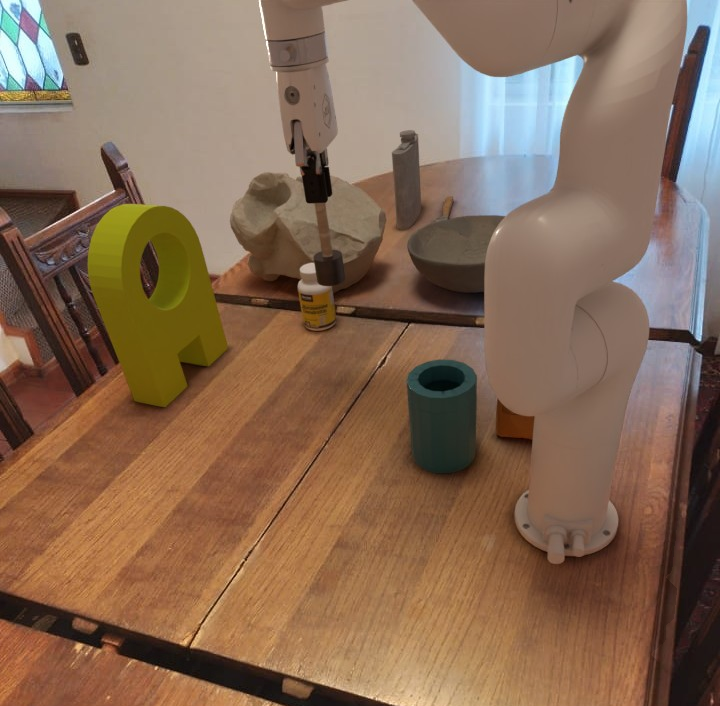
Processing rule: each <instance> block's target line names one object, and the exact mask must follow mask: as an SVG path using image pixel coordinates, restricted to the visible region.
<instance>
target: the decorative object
mask: <svg viewBox="0 0 720 706" xmlns="http://www.w3.org/2000/svg"><path fill="white" fill-rule="evenodd" d="M149 242H151V244H152V246H153V248H154V251H155V254H156V256H157V263H158V278H157V283H156V285H155V288H154V290H153V293H152V294H151V296H150V297H149V298H148V297H147V294H146V293H145V290H144V288H143V283H142V279H141V263H142V257H143V253H144V251H145V248H146V247H147V245H148V244H149ZM88 246H89V247H88V252H87V276H88V282H89V287H90V289H91V293H92V296H93V299H94V300H95V304H96V307H97V309H98V312H99V314H100V318H101V319H102V321H103V324H104V327H105V329H106V331H107V334H108V337H109V340H110V342H111V344H112V347H113V350H114V352H115V354H116V357H117V360H118V362H119V366H120V367H121V370H122V373H123V376H124V378H125V381H126V383H127V385H128V388H129V391H130V393H131V396H132V398H133V401H134V402H135V403H141V404H146V405H150V406H156V407H161V408H166V407H167V406H168V405H170V404H171V403H172V402H173V401H174V400H175V399H176V398H177V397H178V396H179V395H180V394H181V393H183V391H185V390H186V389H187V388H188V383H187V379H186V376H185V374H184V370H183V367H182V364H181V363H186V364H191V365H197V366H204V367H210V366H211V365H212V364H213V363H214V362H216V360H218V359H219V358H220V357H221V356H222V355H223V354H224V353H225V352H226V351H227V350H229V346H228V342H227V338H226V335H225V330H224V326H223V322H222V319H221V318H222V317H221V315H220V311H219V307H218V304H217V301H216V296H215V292H214V288H213V285H212V281H211V277H210V273H209V269H208V266H207V262H206V259H205V255H204V251H203V248H202V244H201V241H200V238H199V236H198V234H197V231H196V229H195V228H194V225H192V223H191V221H190V220H189V219H188V218H187V217H186V215H184V214H183V213H182V212H181V211H179V210H177V209H175V208H173V207H171V206H167V205H157V204H156V205H155V204H143V203H142V204H140V203H123V204H119V205H117V206H115V207H113V208H111V209H109V210H108V211H107V212H106V213H105V214H104V215H103V216H102V217H101V219H100V220H99V222H97V224H96V226H95V229H94V231H93V233H92V235H91V239H90V241H89V245H88Z"/></svg>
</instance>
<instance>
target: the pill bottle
mask: <svg viewBox="0 0 720 706" xmlns="http://www.w3.org/2000/svg"><path fill="white" fill-rule="evenodd" d="M300 276H301V278H302V279H301V280H300V279H299V281H298V283H297V293H298V297H299V298H298V300H299V305H300V311H301V316H302V321H303V326H304V327H306V329H308V330H310V331H318V332H319V331H320V332H321V331H324V330H328V329H330V328H332V327H333V326H334V325H335V324H336V322H337V315H336V313H337V312H336V307H335V298H334V293H333V290H332V286H322V285H319V284H318V282H317V277H316V271H315V264H314V263H308V264H305V265H303V266H302V267H301V268H300Z"/></svg>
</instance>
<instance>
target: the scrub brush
mask: <svg viewBox="0 0 720 706" xmlns="http://www.w3.org/2000/svg"><path fill="white" fill-rule="evenodd" d="M312 158H313V160H314V157H312ZM314 204H315V211H316V217H317V224H318V230H319V237H320V243H321V250H322V251H321V252H318V253H317V254H315V255H314V257H313V258H314V264H315V271H316V277H317V282H318V284H319V285H322V286H334V285H338V284H340V283H342V282H343V281H344V280H345V272H344V265H343V258H342V253H341V252H340V251H338V250H332V245H331V238H330V231H329V224H328V217H327V210H326V203H314Z"/></svg>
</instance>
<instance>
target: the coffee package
mask: <svg viewBox="0 0 720 706" xmlns="http://www.w3.org/2000/svg"><path fill="white" fill-rule="evenodd" d="M496 398H497V397H496ZM495 412H496V413H495V433H496V435H497V436H499V437H502V438H515V439H516V438H523V439H527V440H532V441H533V428H534V418H535V416H523V415H519V414H516V413H514V412H512V411H510V410H509V409H507V408H506V407H505V406H504V405H503V404H502V403H501V402H500V401H499V399H498V398H497V399H496V411H495Z"/></svg>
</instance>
